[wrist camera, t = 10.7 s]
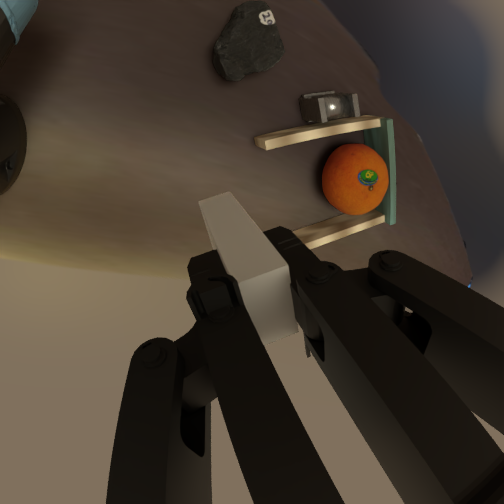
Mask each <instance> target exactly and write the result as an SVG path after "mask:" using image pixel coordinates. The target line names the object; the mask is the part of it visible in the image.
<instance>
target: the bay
mask: <svg viewBox="0 0 504 504" xmlns="http://www.w3.org/2000/svg"><path fill="white" fill-rule="evenodd" d="M357 130H363V131H364V141H365V145H366V146H368V147H370V148H372V149H373V150H374V151H376V152H377V153H378V154H379V155H380V156H381V157H382V159H383V160H384V162H385V164H386V166H387V170H388V178H389V184H388V188H387V191H386V193H385V195H384V197H383V199H382V201H381V202H380V204H379V205H378V206H377V207H376V208H374V209H373V210H371V211H369V212H367V213H365V214H362V215H348V214H342V215H339V216H336V217H333V218H330V219H327V220H325V221H322V222H319V223H316V224H313V225H310V226H307V227H304V228H301V229H298V230H295V231H292V232H293V233H294V234H295V235H296V236H297V238H299V239H300V240H301V241H302V243H304V244H305V245H306V246H307V247H308V248H309V249H312V248H315V247H318V246H321V245H323V244H326V243H329V242H331V241H334V240H337V239H340V238H342V237H345V236H348V235H350V234H353V233H356V232H358V231H361V230H364V229H366V228H369V227H372V226H374V225H377V224H380V223H382V222H386V223H388V224H389V225H392V224H395V223H396V166H395V145H394V131H393V120H392V119H389V118H383V117H377V116H371V115H363V116H360V117H350V118H343V119H337V120H331V121H328V122H324V123H315V124H310V125H305V126H300V127H295V128H290V129H286V130H281V131H277V132H272V133H268V134H264V135H260V136H256V137H254V140H255V145H256V146H258V147H260V148H263V149H265V150H269V149H273V148H277V147H281V146H285V145H290V144H294V143H298V142H303V141H307V140H312V139H316V138H321V137H326V136H331V135H336V134H341V133H346V132H351V131H357Z"/></svg>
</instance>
